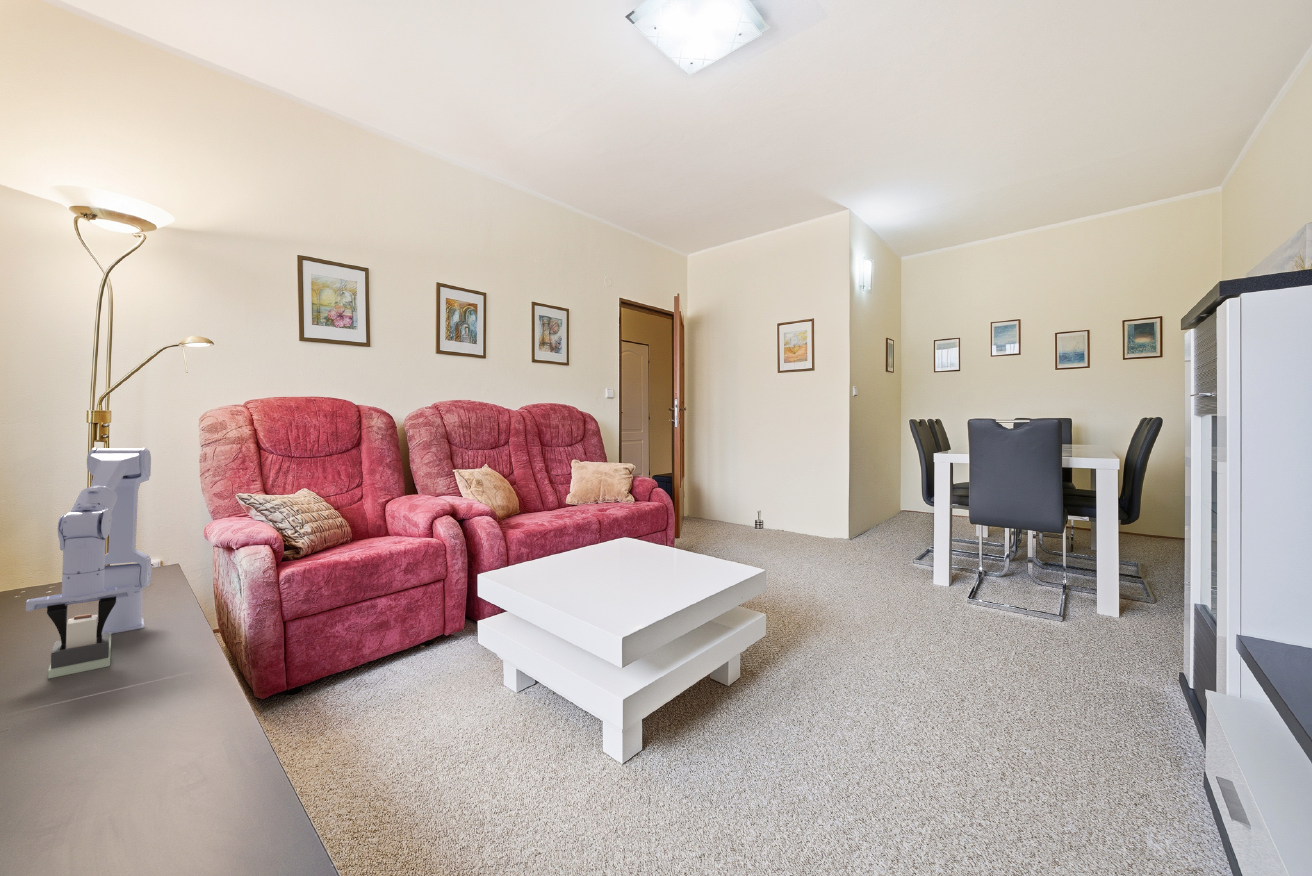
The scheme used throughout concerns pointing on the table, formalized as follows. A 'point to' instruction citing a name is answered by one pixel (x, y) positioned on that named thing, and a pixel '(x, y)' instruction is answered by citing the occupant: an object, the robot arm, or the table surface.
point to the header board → (80, 657)
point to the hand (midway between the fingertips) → (81, 639)
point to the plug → (81, 631)
